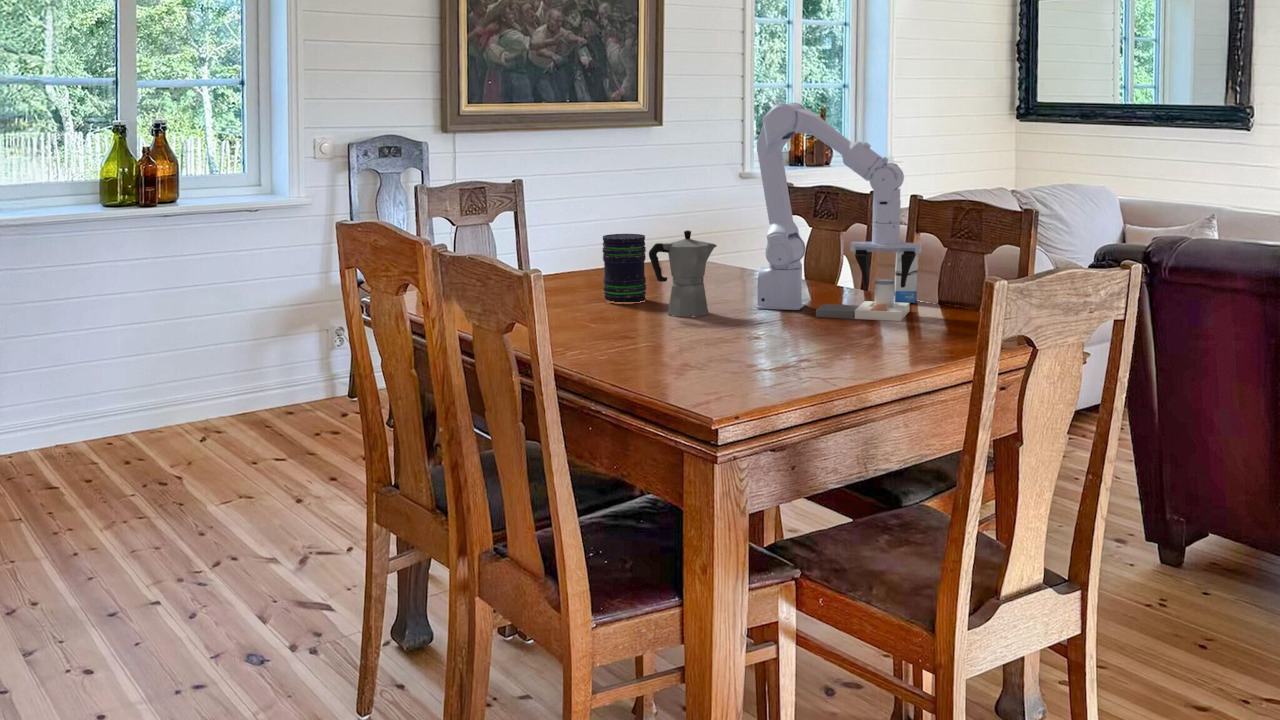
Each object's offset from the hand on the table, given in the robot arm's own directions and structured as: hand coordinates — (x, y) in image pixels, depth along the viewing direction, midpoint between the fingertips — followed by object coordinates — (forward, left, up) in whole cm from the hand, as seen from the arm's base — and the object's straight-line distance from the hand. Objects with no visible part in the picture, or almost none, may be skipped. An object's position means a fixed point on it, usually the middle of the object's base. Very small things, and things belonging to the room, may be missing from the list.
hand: (884, 286), depth 270 cm
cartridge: (0, 0, -6) cm, 6 cm away
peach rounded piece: (0, -6, -7) cm, 9 cm away
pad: (-9, -4, -6) cm, 12 cm away
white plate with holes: (0, -2, -6) cm, 6 cm away
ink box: (+2, +18, -6) cm, 19 cm away
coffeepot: (-41, -12, -6) cm, 43 cm away
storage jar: (-59, +1, -6) cm, 60 cm away
